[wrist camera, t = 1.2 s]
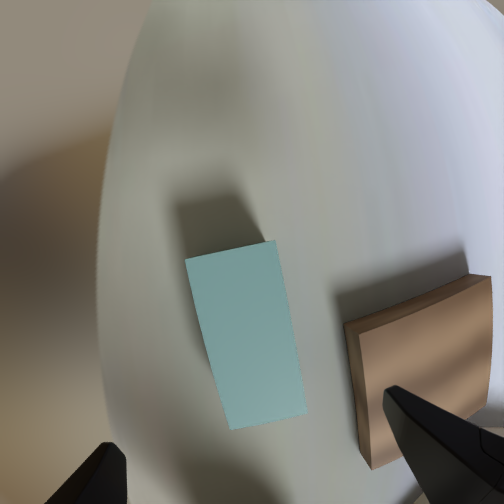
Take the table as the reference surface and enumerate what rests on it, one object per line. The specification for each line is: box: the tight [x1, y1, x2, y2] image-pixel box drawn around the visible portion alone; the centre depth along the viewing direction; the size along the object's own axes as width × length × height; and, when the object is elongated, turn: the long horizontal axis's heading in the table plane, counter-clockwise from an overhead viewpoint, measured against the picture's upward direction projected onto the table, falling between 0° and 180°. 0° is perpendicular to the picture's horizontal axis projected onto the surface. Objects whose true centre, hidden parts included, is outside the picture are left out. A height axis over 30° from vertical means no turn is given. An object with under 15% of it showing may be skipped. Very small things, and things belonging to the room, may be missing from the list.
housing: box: [185, 240, 308, 430], centre depth 19 cm, size 11×5×5 cm, turn 12°
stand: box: [343, 274, 493, 470], centre depth 20 cm, size 14×14×3 cm
